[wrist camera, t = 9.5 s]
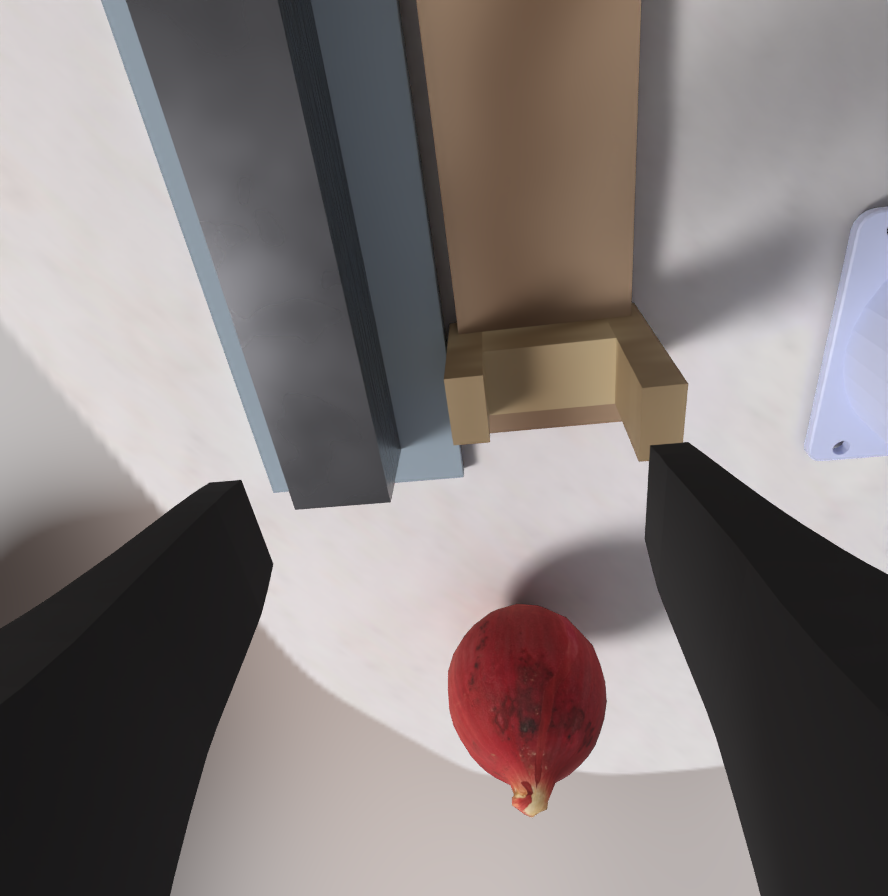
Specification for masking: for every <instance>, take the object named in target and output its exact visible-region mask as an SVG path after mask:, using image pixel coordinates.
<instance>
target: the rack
mask: <svg viewBox="0 0 888 896" xmlns="http://www.w3.org/2000/svg"><path fill="white" fill-rule="evenodd" d="M416 3H417V11H418V19H419V27H420V34H421V42H422V50H423V58H424V66H425V74H426V82H427V90H428V97H429V105H430V113H431V121H432V129H433V137H434V145H435V153H436V160H437V168H438V176H439V184H440V192H441V200H442V208H443V216H444V223H445V231H446V239H447V247H448V255H449V263H450V271H451V279H452V286H453V294H454V302H455V310H456V318H457V323H450V327H449V336H448V345H447V354H446V363H445V372H444V385H445V391H446V398H447V405H448V412H449V419H450V425H451V432H452V439H453V445H464V444H476V443H487V442H490V433H498V432H509V431H520V430H531V429H542V428H553V427H565V426H576V425H587V424H598V423H609V422H620V421H622V422H623V424H624V427H625V429H626V431H627V434H628V436H629V439H630V441H631V444H632V446H633V448H634V451H635V453H636V456H637V458H638V461H639V462H640V461H649V455H650V445H660V444H672V443H683V435H684V424H685V413H686V402H687V390H688V383H687V381H686V380H685V378H684V377H683V375H682V374H681V372H680V371H679V369H678V368H677V366H676V365H675V363H674V362H673V360H672V359H671V357H670V356H669V354H668V353H667V351H666V350H665V348H664V347H663V346H662V344H661V343H660V341H659V340H658V338H657V337H656V335H655V334H654V332H653V331H652V329H651V328H650V326H649V325H648V323H647V322H646V320H645V319H644V317H643V316H642V314H641V313H640V311H639V310H638V308H637V307H636V305H635V304H634V303H631V300H632V269H633V238H634V207H635V176H636V146H637V115H638V84H639V53H640V22H641V0H416Z"/></svg>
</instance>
